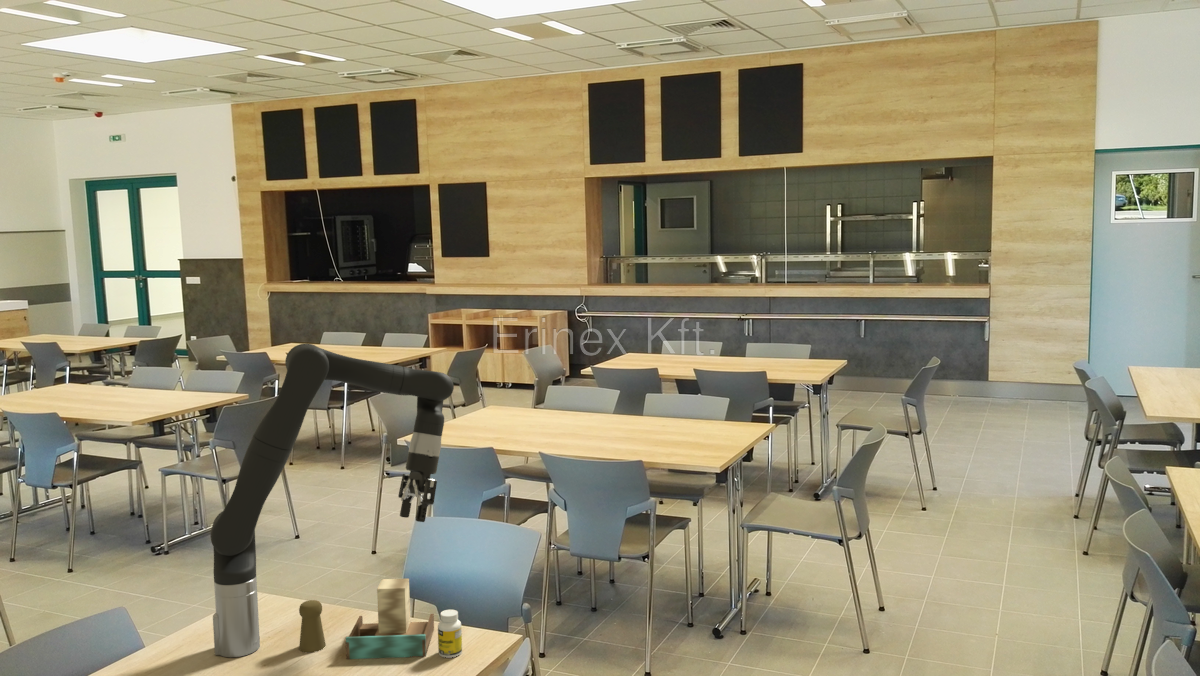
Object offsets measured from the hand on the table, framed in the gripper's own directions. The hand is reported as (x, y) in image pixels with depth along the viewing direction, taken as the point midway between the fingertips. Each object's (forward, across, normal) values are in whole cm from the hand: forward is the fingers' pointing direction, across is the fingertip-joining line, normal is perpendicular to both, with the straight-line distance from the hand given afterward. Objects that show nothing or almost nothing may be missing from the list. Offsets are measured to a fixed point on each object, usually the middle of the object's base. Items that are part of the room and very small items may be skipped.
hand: (411, 519), depth 227 cm
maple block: (+26, -3, +2) cm, 26 cm away
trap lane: (+29, +1, 0) cm, 29 cm away
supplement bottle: (+28, +14, +9) cm, 33 cm away
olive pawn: (+33, -10, -15) cm, 37 cm away
